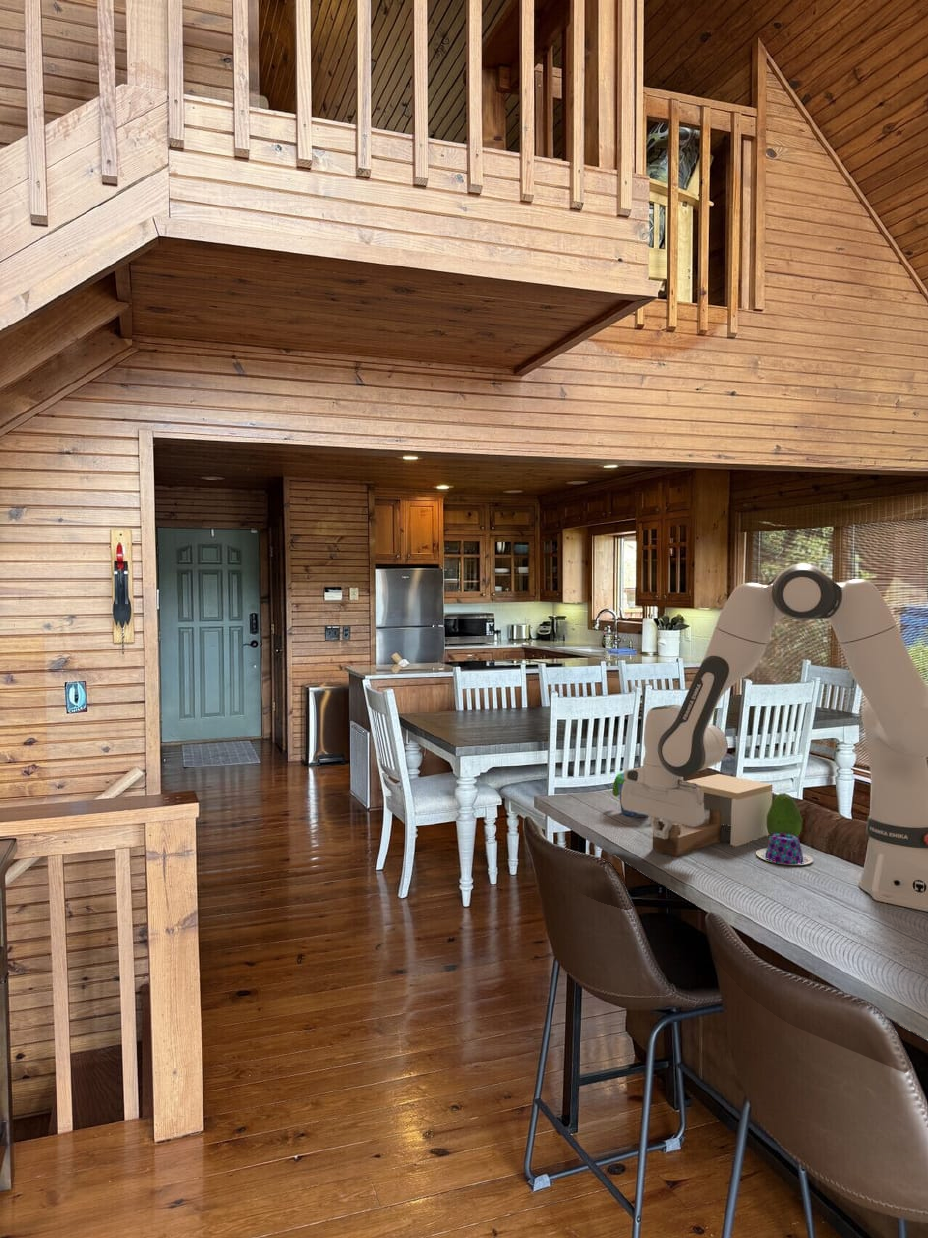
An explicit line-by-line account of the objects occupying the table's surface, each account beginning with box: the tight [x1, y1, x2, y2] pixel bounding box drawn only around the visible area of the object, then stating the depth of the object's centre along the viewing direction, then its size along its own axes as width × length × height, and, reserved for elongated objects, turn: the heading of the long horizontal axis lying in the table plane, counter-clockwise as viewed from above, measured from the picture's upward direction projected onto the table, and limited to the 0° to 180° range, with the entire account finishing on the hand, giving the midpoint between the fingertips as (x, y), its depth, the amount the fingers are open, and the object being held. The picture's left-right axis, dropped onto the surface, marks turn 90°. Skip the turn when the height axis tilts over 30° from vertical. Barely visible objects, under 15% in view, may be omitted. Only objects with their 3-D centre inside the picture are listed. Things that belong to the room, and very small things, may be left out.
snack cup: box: [611, 772, 649, 818], centre depth 222 cm, size 16×10×10 cm
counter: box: [686, 773, 773, 847], centre depth 205 cm, size 15×16×12 cm
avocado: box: [766, 792, 803, 838], centre depth 198 cm, size 8×8×12 cm
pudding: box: [755, 833, 814, 866], centre depth 186 cm, size 12×12×5 cm
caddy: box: [652, 808, 722, 857], centre depth 194 cm, size 6×19×8 cm, turn 132°
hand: (660, 837), depth 187 cm, fingers closed
